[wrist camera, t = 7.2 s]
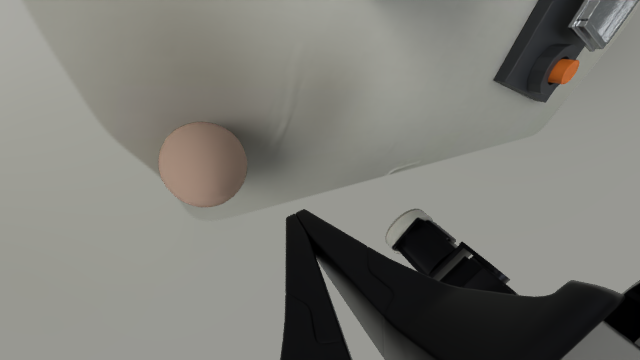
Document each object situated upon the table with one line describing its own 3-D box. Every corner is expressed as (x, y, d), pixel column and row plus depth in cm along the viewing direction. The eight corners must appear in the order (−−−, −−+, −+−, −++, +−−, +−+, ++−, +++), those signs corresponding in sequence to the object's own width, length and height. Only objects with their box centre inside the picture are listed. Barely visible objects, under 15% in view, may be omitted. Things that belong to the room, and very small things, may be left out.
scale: (534, 100, 34) (559, 105, 32) (493, 80, 28) (519, 84, 25) (617, -24, 28) (655, -28, 25) (588, -87, 21) (634, -101, 19)
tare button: (551, 84, 29) (566, 86, 28) (543, 79, 28) (559, 81, 26) (566, 62, 28) (582, 63, 27) (559, 56, 26) (575, 57, 25)
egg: (203, 95, 16) (207, 128, 11) (252, 146, 19) (274, 189, 14) (145, 142, 16) (121, 197, 10) (205, 184, 19) (209, 242, 14)
